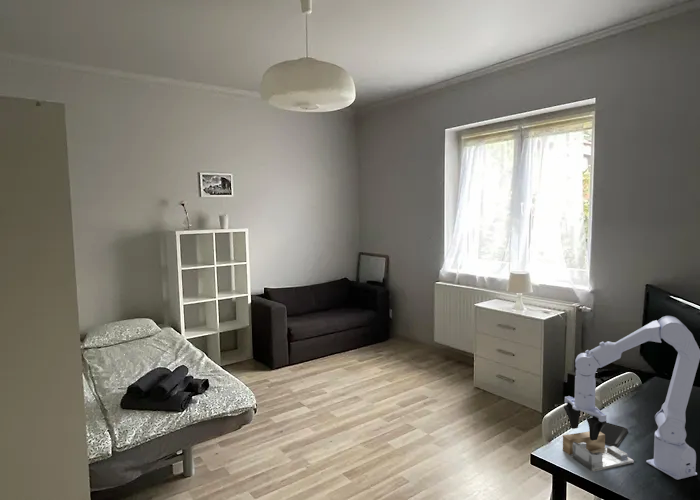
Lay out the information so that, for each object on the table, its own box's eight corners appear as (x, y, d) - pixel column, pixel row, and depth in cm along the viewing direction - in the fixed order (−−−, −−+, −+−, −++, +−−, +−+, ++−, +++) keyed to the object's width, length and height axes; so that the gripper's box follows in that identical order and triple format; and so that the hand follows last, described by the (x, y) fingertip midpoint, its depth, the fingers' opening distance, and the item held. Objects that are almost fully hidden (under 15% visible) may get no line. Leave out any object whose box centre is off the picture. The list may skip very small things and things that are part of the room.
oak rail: (597, 445, 141) (597, 430, 140) (604, 449, 138) (605, 434, 137) (562, 450, 138) (563, 435, 137) (569, 455, 135) (569, 440, 134)
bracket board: (610, 449, 138) (611, 434, 137) (633, 462, 130) (633, 446, 130) (571, 457, 133) (571, 441, 133) (592, 471, 126) (593, 455, 125)
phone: (628, 428, 149) (616, 445, 138) (628, 431, 149) (616, 448, 139) (602, 421, 155) (589, 436, 144) (602, 424, 155) (589, 440, 144)
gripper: (557, 385, 142) (556, 425, 143) (593, 403, 128) (592, 447, 129) (574, 382, 144) (573, 421, 145) (612, 399, 130) (611, 443, 131)
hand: (583, 433), depth 137 cm, fingers open, 7 cm apart
